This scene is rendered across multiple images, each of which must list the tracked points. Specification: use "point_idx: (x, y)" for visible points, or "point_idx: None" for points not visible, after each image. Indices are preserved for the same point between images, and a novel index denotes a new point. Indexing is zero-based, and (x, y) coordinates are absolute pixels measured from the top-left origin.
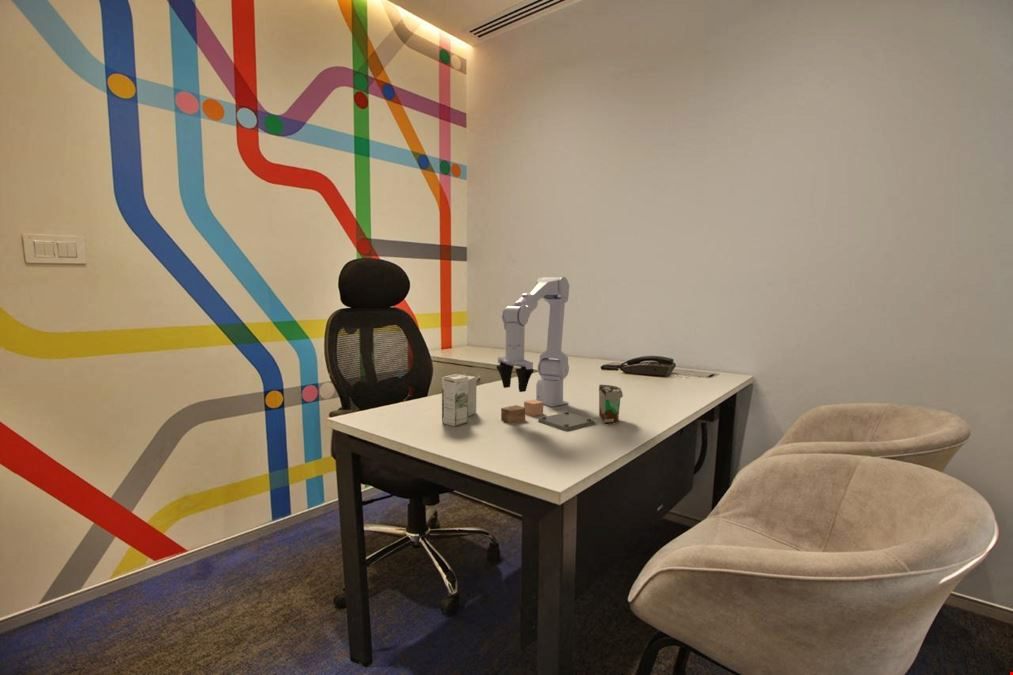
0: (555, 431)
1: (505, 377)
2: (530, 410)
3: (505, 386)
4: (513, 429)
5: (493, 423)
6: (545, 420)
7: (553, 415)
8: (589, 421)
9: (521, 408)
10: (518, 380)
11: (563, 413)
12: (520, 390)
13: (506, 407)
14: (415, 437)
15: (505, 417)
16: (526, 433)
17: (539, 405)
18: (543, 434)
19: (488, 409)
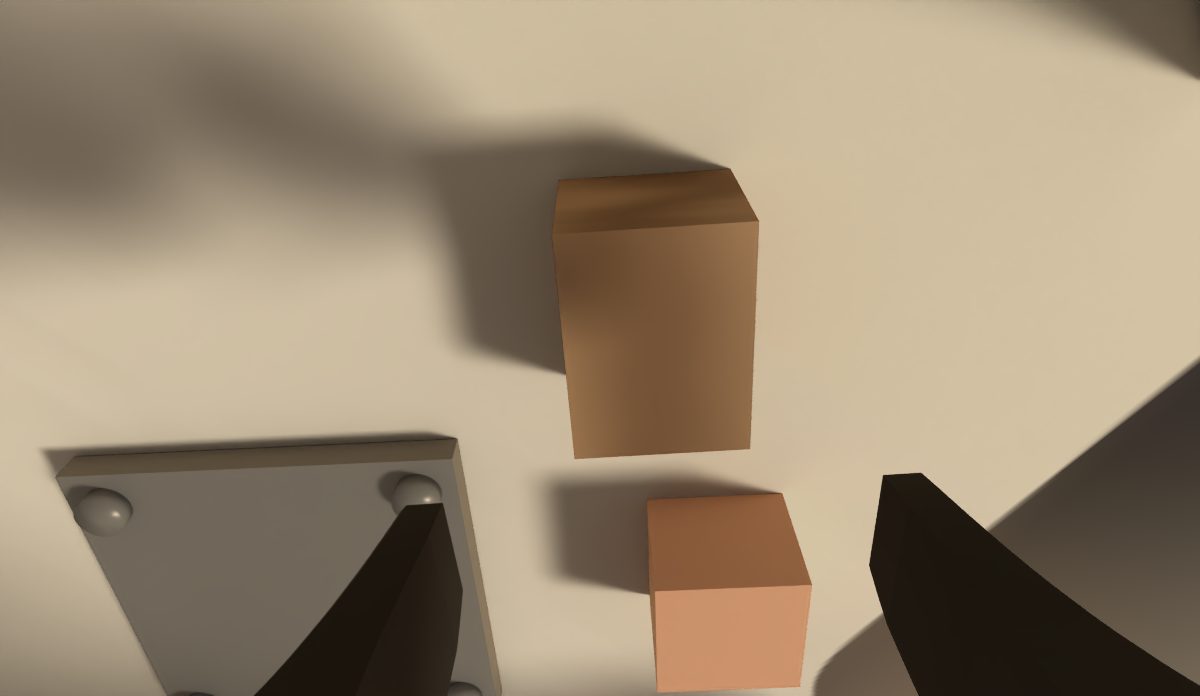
0: (95, 383)
1: (981, 666)
2: (688, 531)
3: (888, 505)
4: (325, 71)
5: (677, 3)
6: (352, 468)
7: (465, 599)
8: (168, 689)
9: (574, 410)
10: (356, 670)
11: (474, 679)
12: (396, 523)
13: (734, 294)
14: None
15: (651, 191)
16: (121, 107)
17: (654, 633)
18: (31, 237)
19: (1185, 296)
